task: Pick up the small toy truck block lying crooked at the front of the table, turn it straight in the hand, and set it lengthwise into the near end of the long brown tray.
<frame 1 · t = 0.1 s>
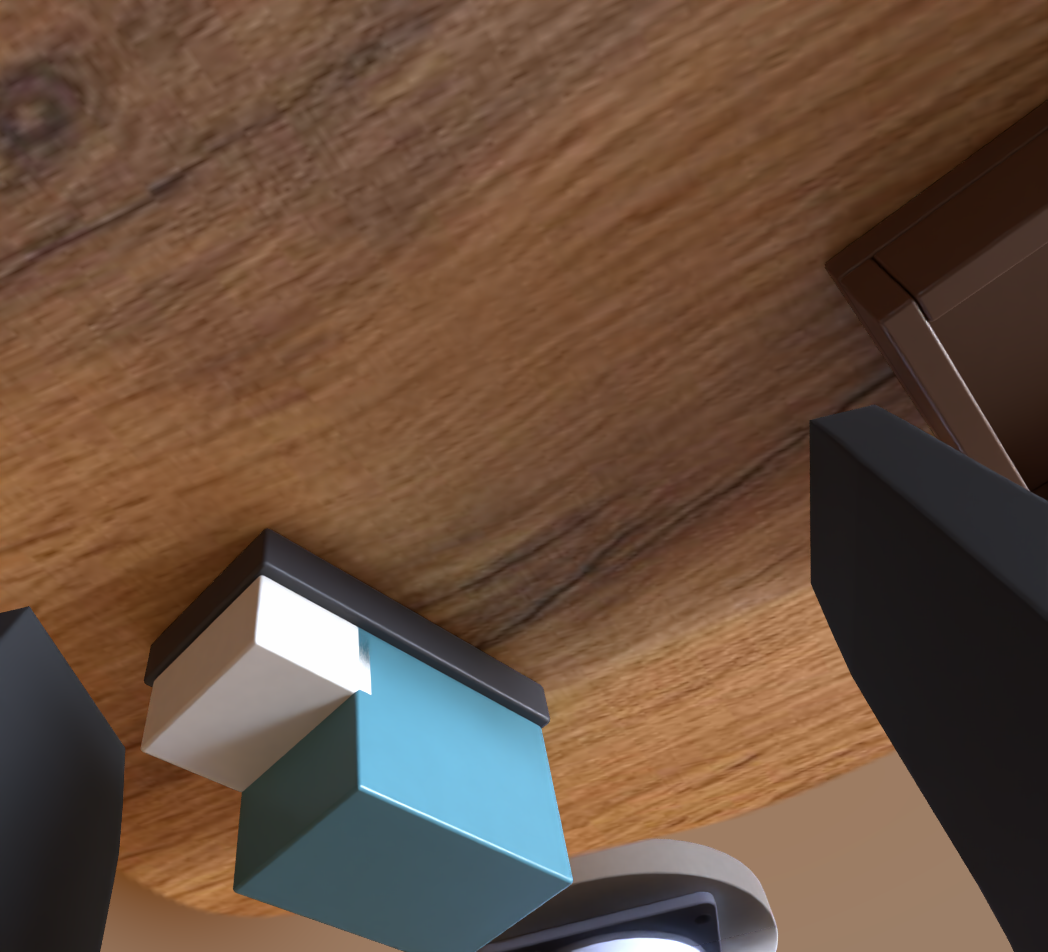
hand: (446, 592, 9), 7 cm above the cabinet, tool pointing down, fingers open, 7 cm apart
toy truck block: (358, 665, 20), on the cabinet
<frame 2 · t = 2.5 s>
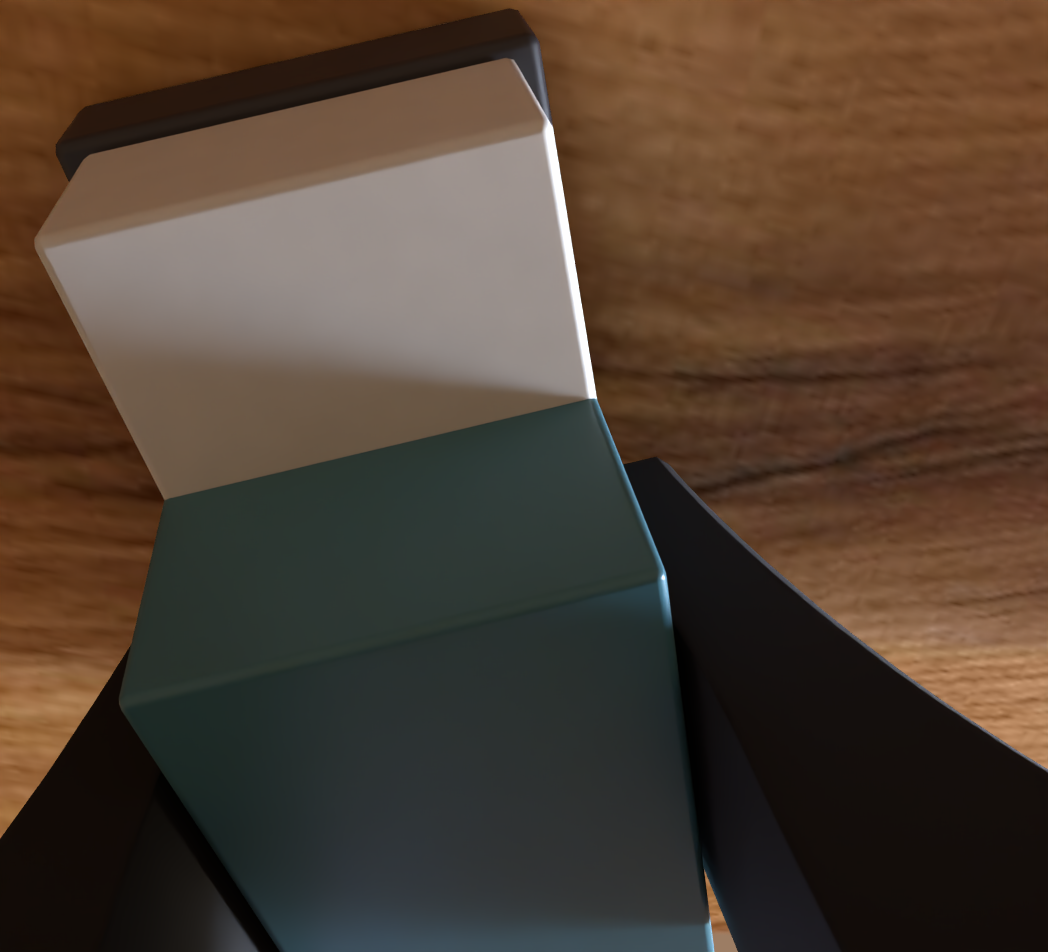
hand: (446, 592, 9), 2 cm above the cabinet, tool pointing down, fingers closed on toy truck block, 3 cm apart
toy truck block: (407, 414, 10), on the cabinet, touching gripper
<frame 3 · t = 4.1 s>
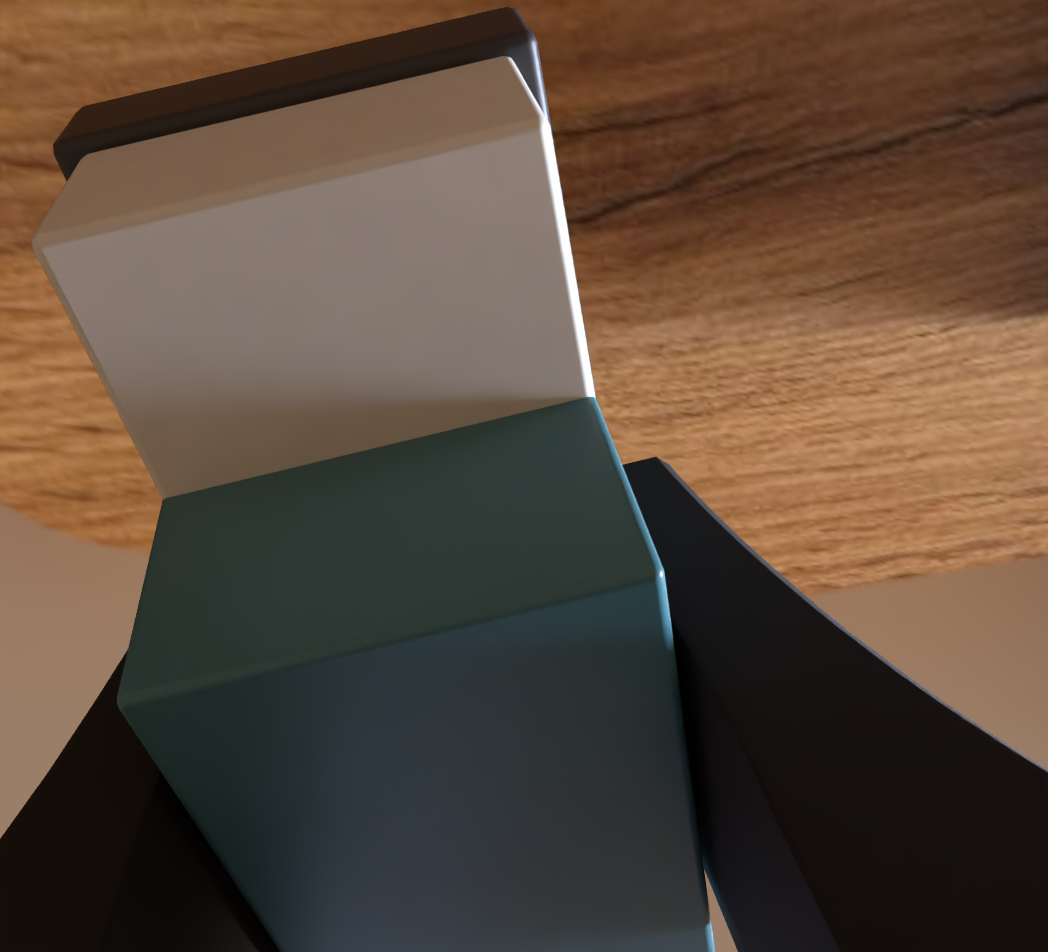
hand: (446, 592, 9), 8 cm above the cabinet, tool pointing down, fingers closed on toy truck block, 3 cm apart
toy truck block: (406, 413, 10), point 7 cm above the cabinet, touching gripper
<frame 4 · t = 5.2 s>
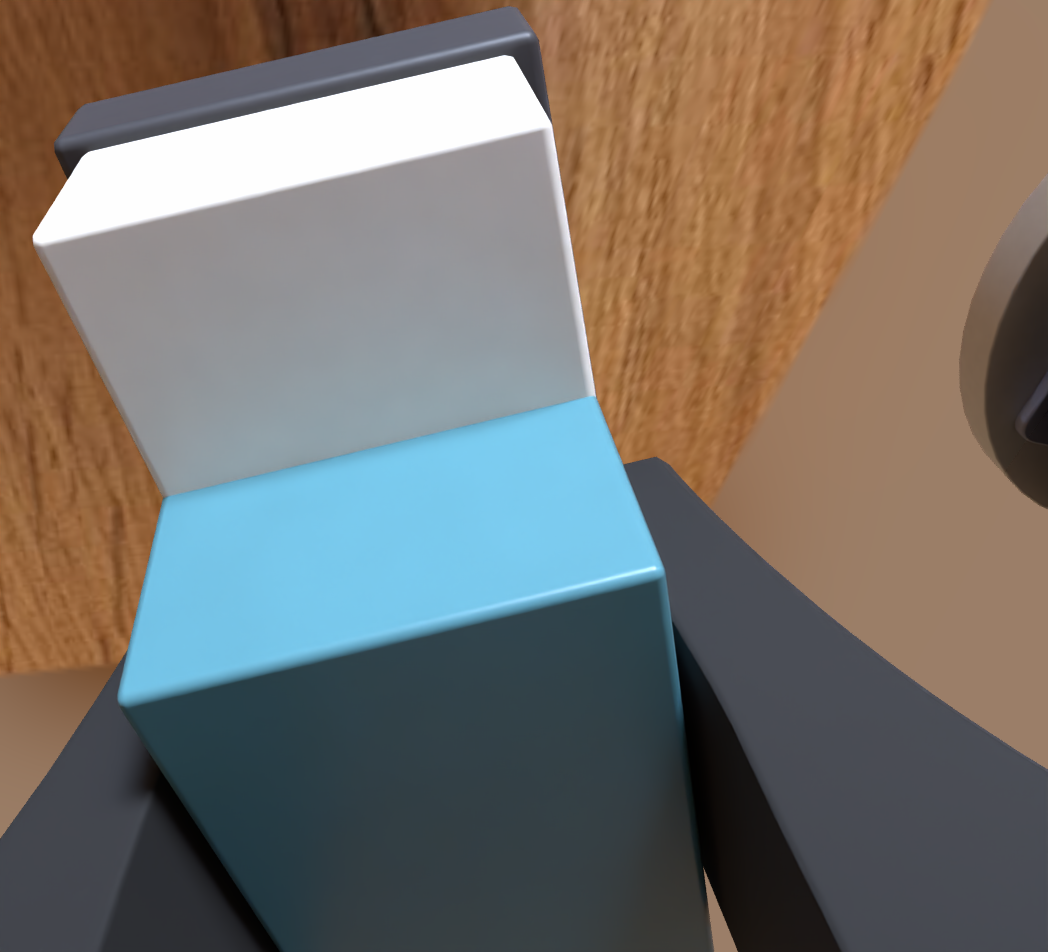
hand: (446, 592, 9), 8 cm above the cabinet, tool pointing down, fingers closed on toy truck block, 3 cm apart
toy truck block: (406, 413, 10), point 7 cm above the cabinet, touching gripper
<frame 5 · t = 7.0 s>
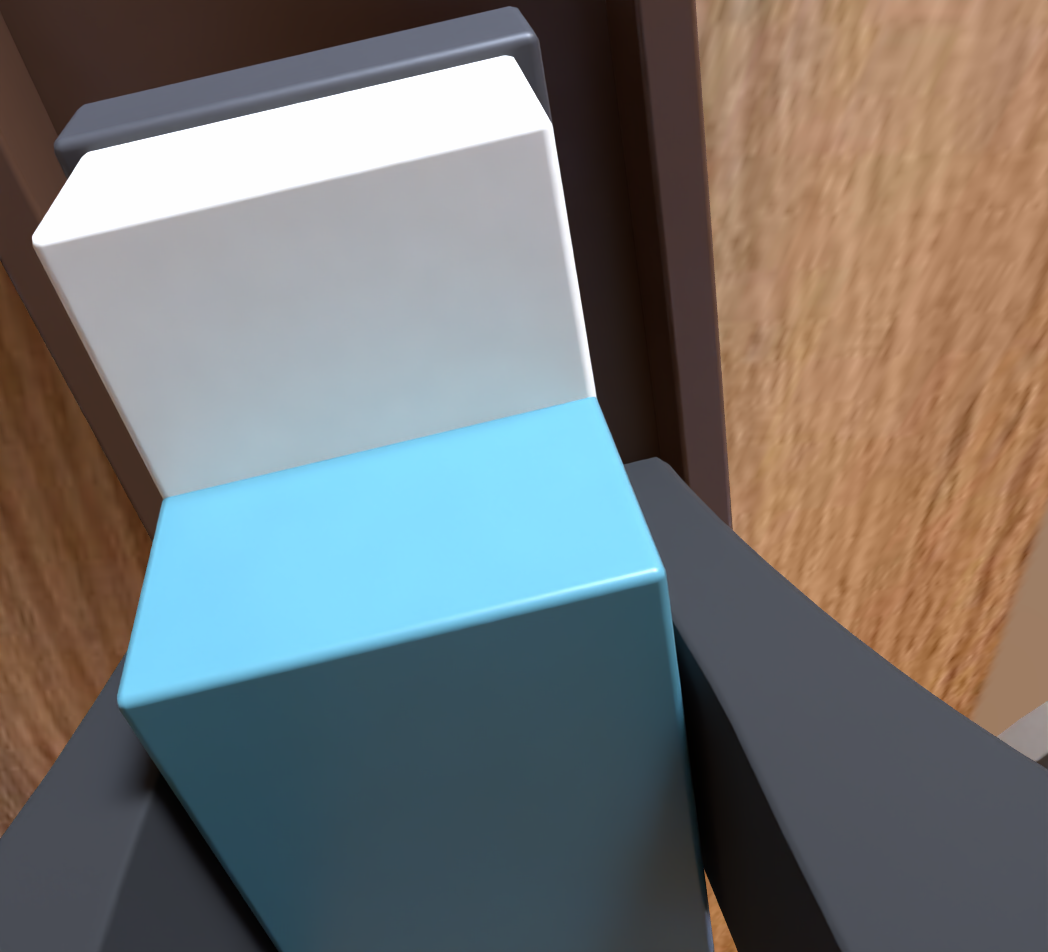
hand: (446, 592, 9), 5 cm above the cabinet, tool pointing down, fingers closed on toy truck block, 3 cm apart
toy truck block: (406, 413, 10), point 3 cm above the cabinet, touching gripper
when the fingers open (2 cm above the cabinet, at t = 8.2 s): toy truck block stays where it is, resting on long brown tray.
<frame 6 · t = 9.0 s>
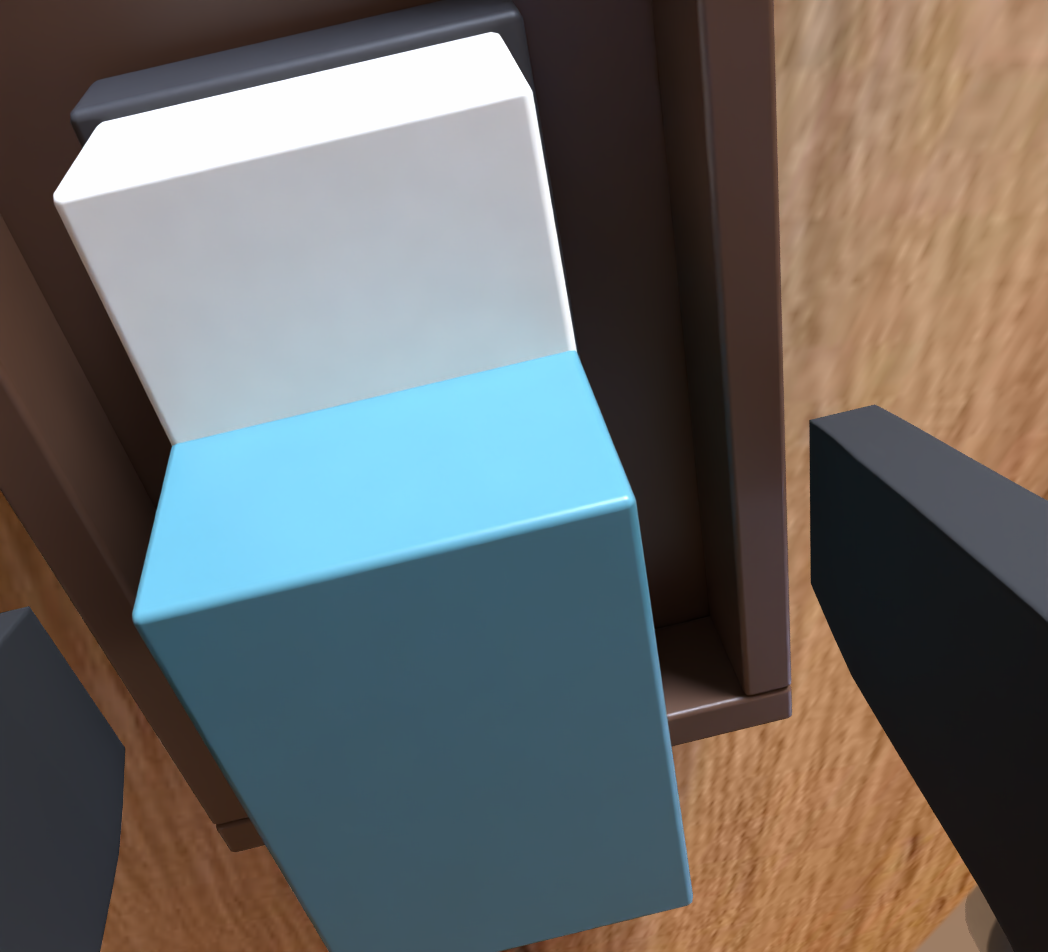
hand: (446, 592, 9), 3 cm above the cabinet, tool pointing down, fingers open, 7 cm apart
toy truck block: (401, 379, 11), point 1 cm above the cabinet, touching long brown tray
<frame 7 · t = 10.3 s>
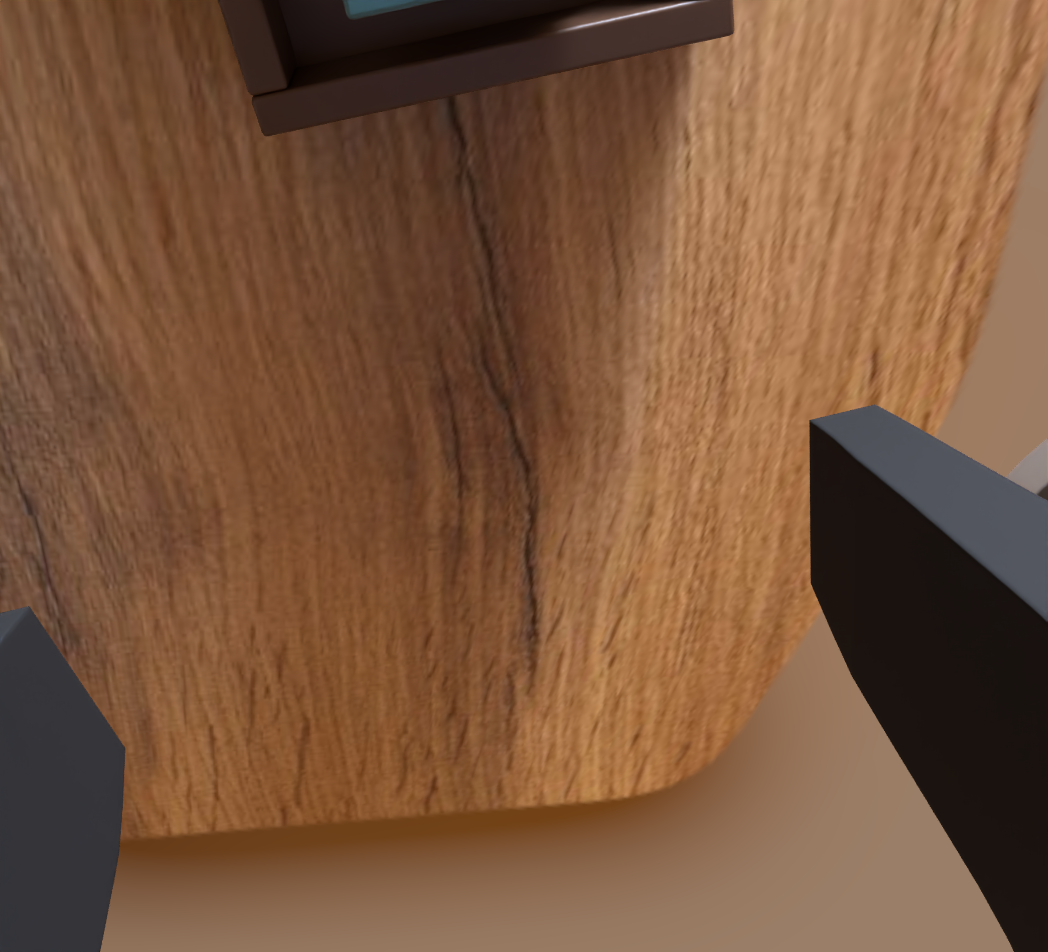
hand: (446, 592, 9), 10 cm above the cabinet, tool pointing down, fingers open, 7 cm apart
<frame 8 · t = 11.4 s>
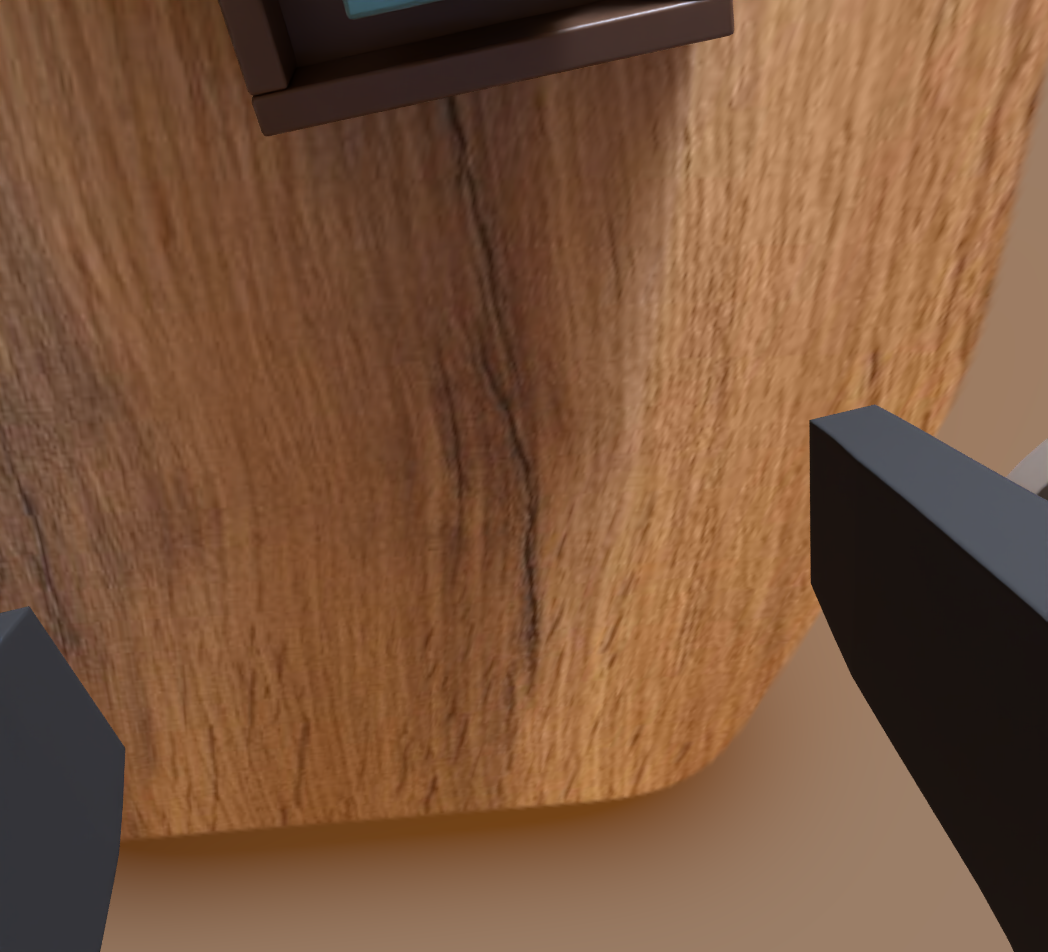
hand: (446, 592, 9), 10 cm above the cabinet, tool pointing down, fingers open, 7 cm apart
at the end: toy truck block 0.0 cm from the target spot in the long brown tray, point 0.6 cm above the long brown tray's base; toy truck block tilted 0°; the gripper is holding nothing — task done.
